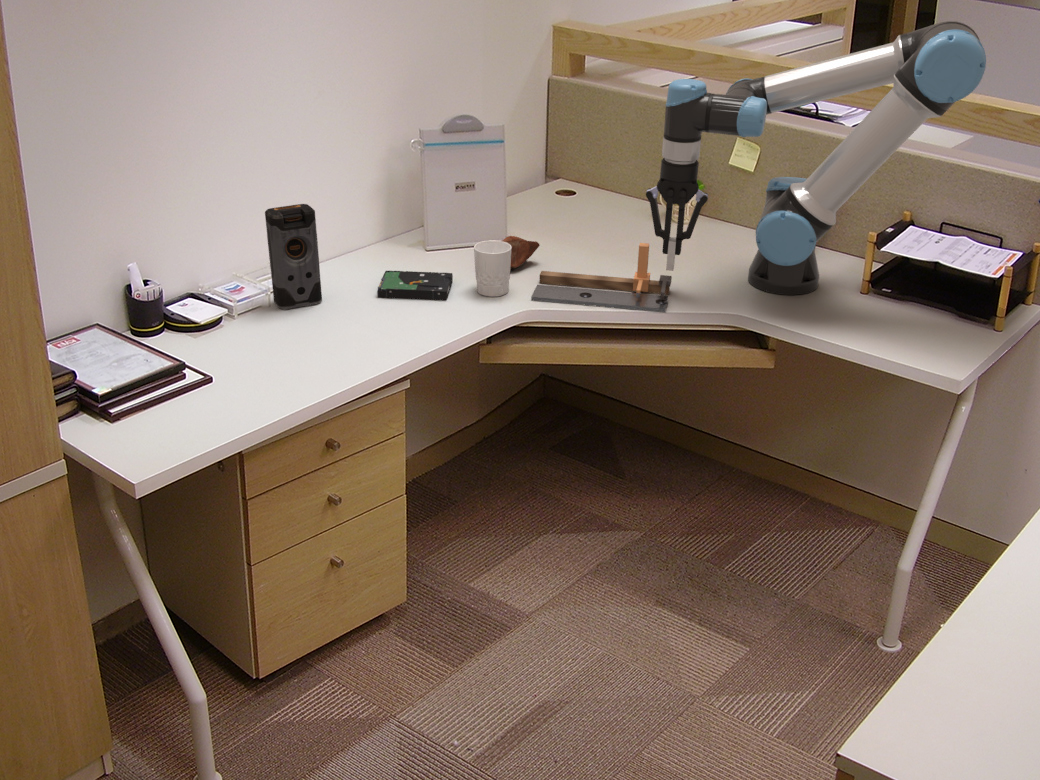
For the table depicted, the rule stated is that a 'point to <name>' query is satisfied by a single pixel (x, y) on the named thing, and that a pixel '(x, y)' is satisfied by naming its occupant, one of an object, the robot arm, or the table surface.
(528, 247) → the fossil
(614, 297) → the metal board
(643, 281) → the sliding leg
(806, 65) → the robot arm
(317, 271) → the electronic device
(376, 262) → the table surface
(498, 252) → the white cup
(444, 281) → the disk drive
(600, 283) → the beam
